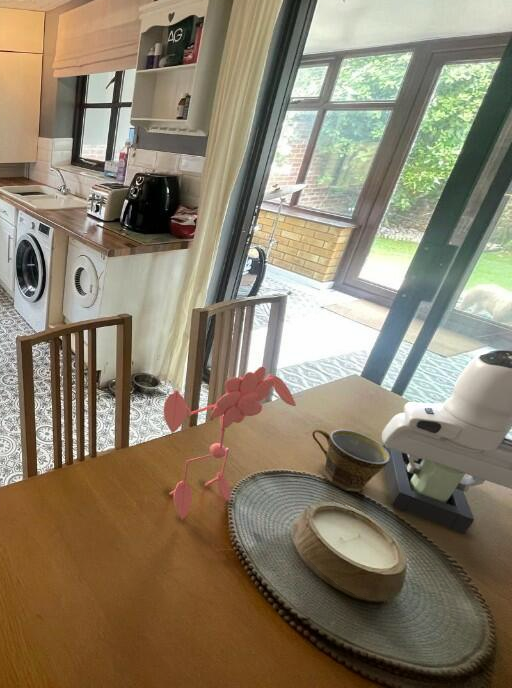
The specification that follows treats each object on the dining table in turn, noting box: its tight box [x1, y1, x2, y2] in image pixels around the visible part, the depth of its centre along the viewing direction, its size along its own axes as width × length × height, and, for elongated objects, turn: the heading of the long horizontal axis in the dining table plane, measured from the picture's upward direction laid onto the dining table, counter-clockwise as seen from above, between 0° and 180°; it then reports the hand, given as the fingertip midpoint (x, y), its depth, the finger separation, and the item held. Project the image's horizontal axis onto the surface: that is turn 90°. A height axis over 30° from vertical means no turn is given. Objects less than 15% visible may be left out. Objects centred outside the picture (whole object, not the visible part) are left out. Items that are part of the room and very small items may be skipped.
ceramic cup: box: [311, 429, 390, 492], centre depth 90 cm, size 13×10×10 cm
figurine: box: [144, 365, 297, 551], centre depth 75 cm, size 15×26×35 cm, turn 106°
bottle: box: [409, 460, 466, 503], centre depth 83 cm, size 6×6×15 cm
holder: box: [382, 444, 475, 534], centre depth 89 cm, size 11×20×4 cm, turn 145°
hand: (434, 479), depth 84 cm, fingers closed on bottle, 6 cm apart
